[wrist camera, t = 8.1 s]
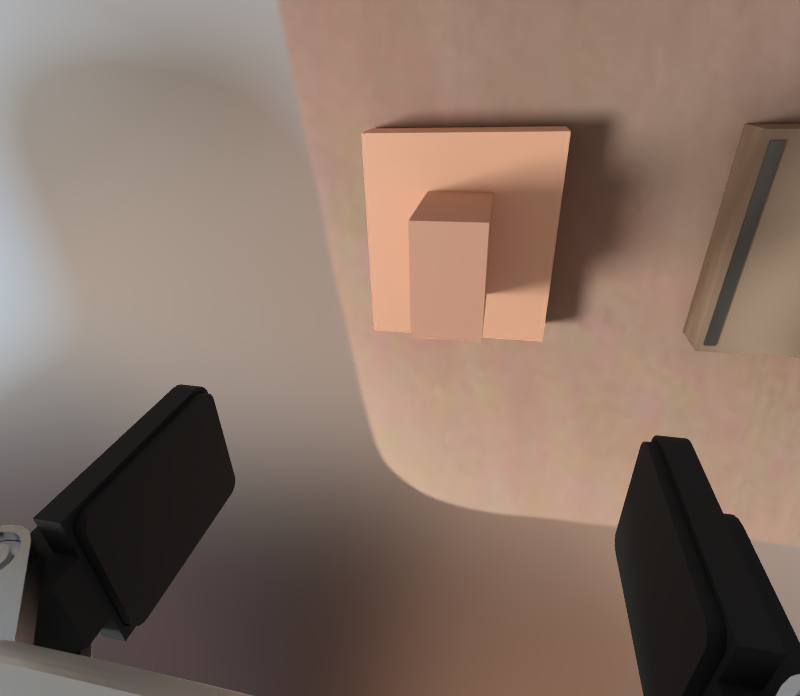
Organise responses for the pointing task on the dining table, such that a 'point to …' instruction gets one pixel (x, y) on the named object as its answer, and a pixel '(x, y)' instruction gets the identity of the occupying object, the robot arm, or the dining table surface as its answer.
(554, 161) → the stub
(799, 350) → the board
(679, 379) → the dining table surface
